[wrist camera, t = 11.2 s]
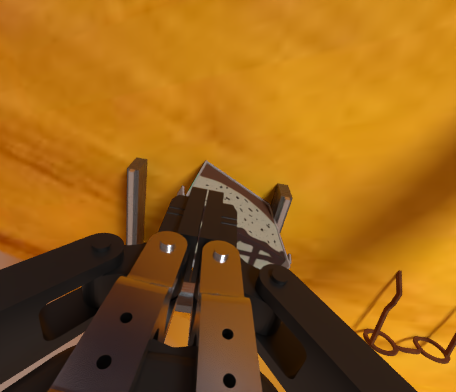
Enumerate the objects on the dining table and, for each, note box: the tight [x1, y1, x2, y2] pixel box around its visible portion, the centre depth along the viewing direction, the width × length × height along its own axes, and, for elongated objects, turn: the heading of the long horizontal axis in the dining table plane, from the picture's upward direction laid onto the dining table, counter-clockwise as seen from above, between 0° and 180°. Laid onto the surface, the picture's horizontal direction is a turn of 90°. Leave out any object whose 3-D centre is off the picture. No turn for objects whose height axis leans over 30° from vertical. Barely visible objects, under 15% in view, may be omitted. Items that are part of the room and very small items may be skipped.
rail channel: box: [126, 158, 292, 313], centre depth 32 cm, size 17×17×6 cm
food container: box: [177, 161, 291, 269], centre depth 28 cm, size 12×6×10 cm, turn 53°
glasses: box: [363, 271, 456, 364], centre depth 39 cm, size 13×13×5 cm
